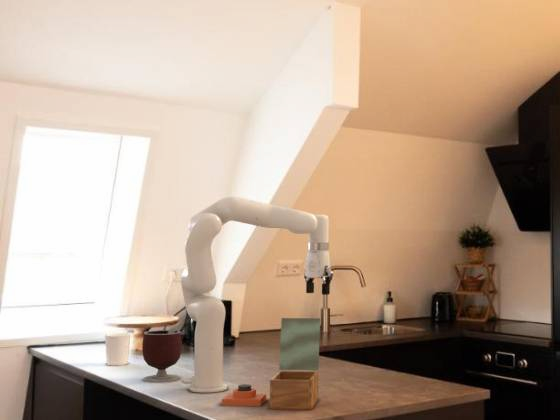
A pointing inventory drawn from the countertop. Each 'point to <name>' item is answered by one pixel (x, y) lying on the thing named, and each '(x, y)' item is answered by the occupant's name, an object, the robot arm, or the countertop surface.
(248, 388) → the button
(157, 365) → the mate gourd
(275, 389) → the wooden box
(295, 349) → the green box lid
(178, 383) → the countertop surface
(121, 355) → the candle holder
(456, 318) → the countertop surface
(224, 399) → the button block
